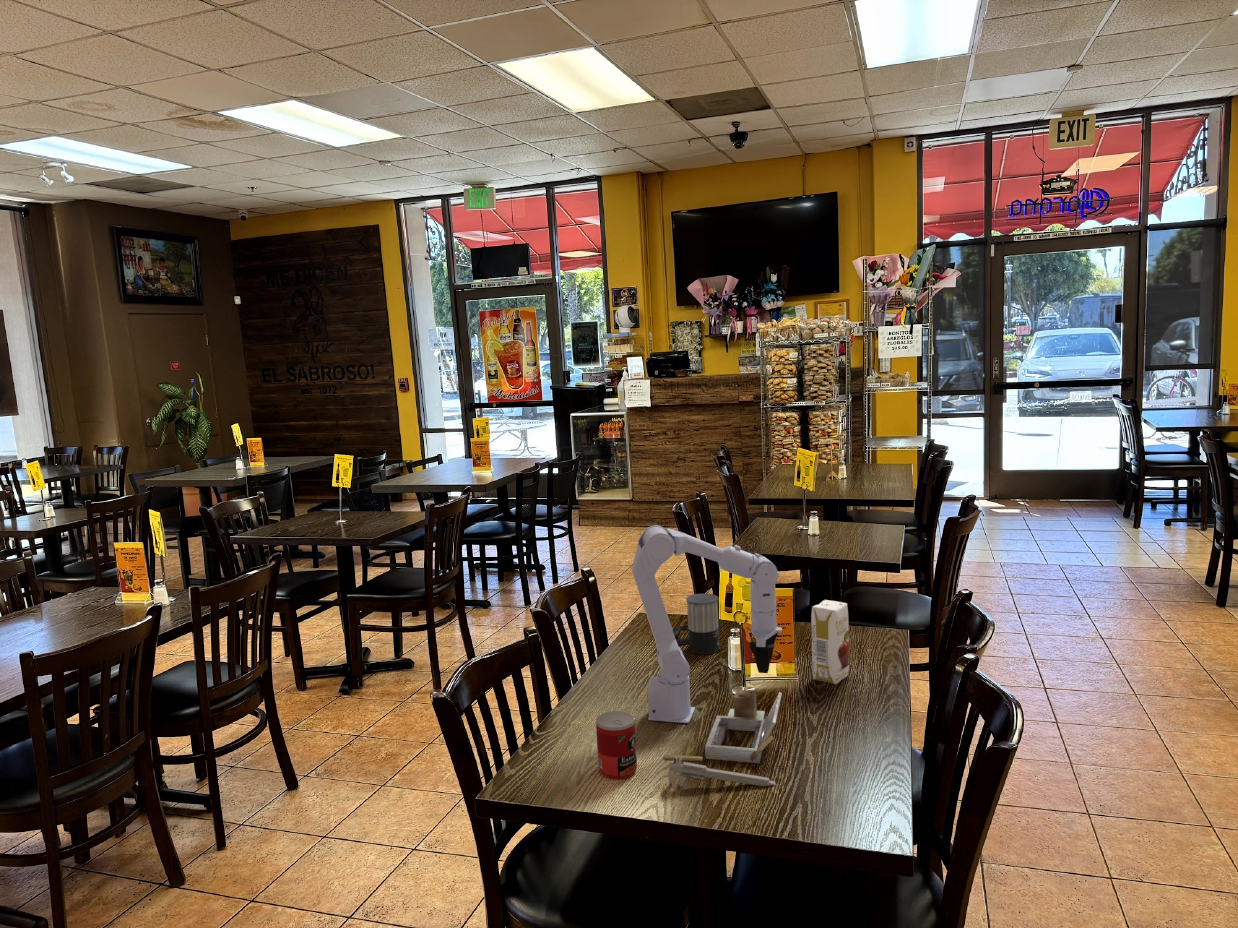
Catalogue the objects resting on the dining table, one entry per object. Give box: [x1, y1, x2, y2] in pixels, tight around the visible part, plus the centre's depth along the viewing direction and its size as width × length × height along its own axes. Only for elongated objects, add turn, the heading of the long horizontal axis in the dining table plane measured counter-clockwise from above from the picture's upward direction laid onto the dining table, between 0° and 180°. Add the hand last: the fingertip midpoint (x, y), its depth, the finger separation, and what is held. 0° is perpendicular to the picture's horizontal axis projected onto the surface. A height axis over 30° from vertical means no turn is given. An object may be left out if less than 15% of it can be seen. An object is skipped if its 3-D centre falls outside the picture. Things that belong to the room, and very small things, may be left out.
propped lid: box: [750, 691, 783, 761], centre depth 174 cm, size 5×16×8 cm, turn 164°
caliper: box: [668, 756, 777, 788], centre depth 160 cm, size 20×1×6 cm, turn 86°
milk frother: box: [672, 593, 722, 655], centre depth 236 cm, size 14×16×15 cm
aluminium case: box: [704, 714, 765, 764], centre depth 176 cm, size 11×15×3 cm
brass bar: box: [663, 754, 704, 762], centre depth 171 cm, size 8×1×1 cm, turn 77°
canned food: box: [595, 710, 638, 780], centre depth 167 cm, size 8×8×11 cm
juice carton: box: [810, 599, 850, 685], centre depth 208 cm, size 8×9×19 cm
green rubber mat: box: [727, 708, 766, 719], centre depth 188 cm, size 8×8×1 cm
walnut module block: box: [733, 689, 758, 718], centre depth 188 cm, size 4×4×6 cm
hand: (765, 666), depth 193 cm, fingers open, 7 cm apart
